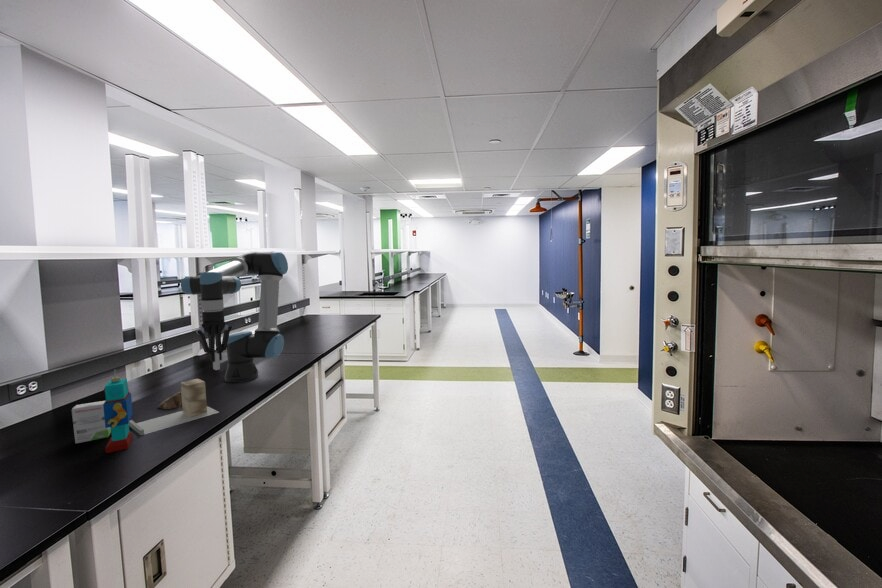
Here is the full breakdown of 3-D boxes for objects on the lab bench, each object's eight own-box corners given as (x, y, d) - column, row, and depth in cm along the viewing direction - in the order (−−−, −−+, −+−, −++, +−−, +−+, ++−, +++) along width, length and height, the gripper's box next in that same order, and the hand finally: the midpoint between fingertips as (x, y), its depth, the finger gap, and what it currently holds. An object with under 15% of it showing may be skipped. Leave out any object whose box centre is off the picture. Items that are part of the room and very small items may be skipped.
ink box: (111, 432, 136) (108, 399, 135) (108, 437, 132) (105, 403, 131) (78, 438, 132) (75, 404, 131) (74, 444, 127) (70, 409, 126)
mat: (204, 405, 160) (204, 400, 160) (219, 413, 152) (219, 408, 151) (128, 426, 141) (128, 420, 141) (140, 436, 132) (140, 430, 132)
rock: (181, 409, 157) (180, 395, 157) (152, 411, 155) (151, 397, 154) (196, 396, 172) (195, 383, 172) (170, 398, 170) (168, 385, 169)
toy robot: (112, 441, 129) (105, 366, 127) (135, 436, 132) (129, 364, 130) (104, 455, 119) (96, 375, 117) (129, 450, 122) (122, 372, 120)
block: (199, 408, 156) (197, 378, 155) (207, 412, 151) (204, 381, 150) (182, 413, 151) (180, 382, 150) (189, 417, 147) (187, 385, 146)
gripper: (226, 308, 162) (229, 364, 164) (190, 311, 152) (194, 371, 154) (234, 309, 158) (237, 367, 159) (198, 313, 148) (202, 374, 149)
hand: (216, 369), depth 157 cm, fingers closed
